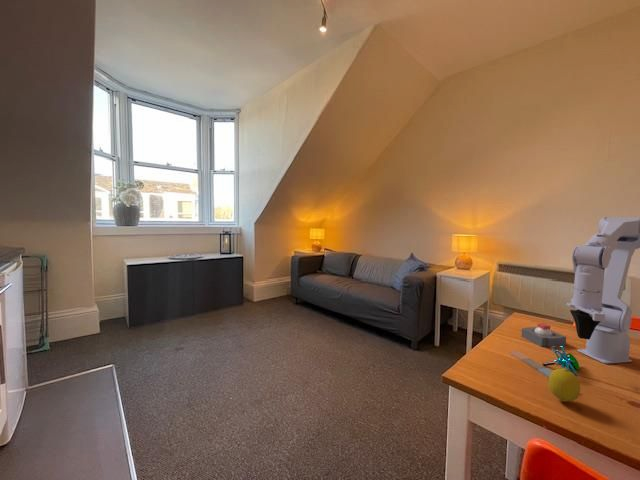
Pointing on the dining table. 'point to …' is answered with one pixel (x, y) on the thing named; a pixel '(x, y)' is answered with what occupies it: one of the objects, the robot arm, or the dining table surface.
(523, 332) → the dome housing
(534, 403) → the dining table surface
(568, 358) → the stick construction toy
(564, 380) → the lemon
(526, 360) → the track tiles
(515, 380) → the dining table surface
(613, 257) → the robot arm
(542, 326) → the dome button
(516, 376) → the dining table surface
